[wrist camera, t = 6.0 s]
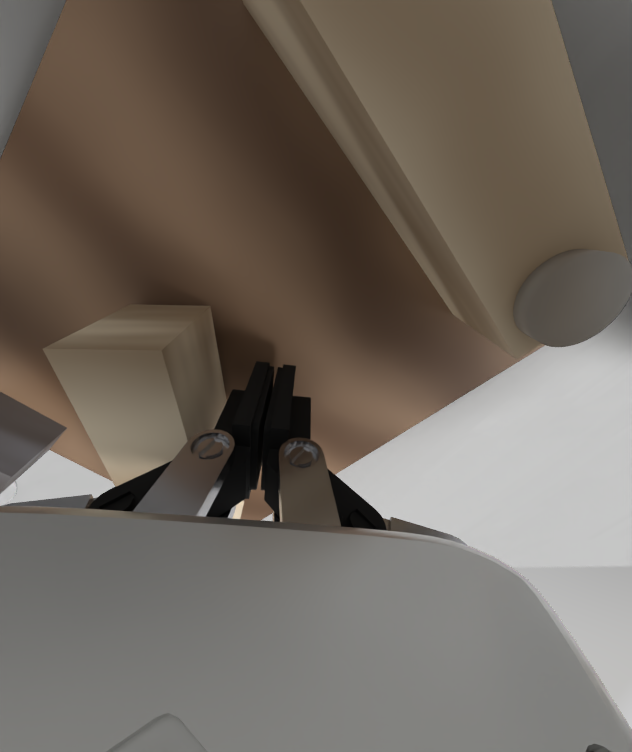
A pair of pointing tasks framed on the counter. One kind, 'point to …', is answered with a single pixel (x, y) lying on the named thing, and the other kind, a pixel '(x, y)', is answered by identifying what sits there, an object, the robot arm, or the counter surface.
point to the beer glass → (8, 494)
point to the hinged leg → (143, 384)
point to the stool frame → (304, 204)
